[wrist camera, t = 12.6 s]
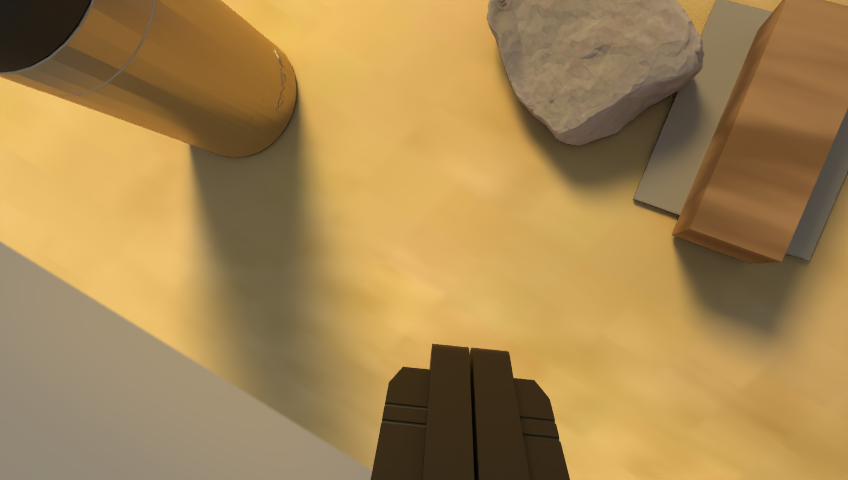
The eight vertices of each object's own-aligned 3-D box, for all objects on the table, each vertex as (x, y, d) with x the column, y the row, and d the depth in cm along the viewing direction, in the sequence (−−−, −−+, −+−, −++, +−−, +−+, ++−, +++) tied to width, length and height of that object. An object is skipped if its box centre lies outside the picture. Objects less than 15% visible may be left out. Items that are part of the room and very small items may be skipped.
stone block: (568, 168, 35) (716, 73, 32) (552, 158, 31) (721, 47, 27) (482, 30, 38) (609, -73, 34) (455, 3, 34) (597, -118, 30)
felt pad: (806, 260, 31) (809, 260, 30) (632, 199, 33) (633, 198, 33) (898, 46, 30) (902, 44, 30) (715, 0, 33) (717, -3, 32)
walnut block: (782, 261, 27) (887, 15, 26) (689, 228, 28) (789, -8, 27) (750, 263, 31) (840, 52, 31) (671, 234, 32) (757, 30, 32)
